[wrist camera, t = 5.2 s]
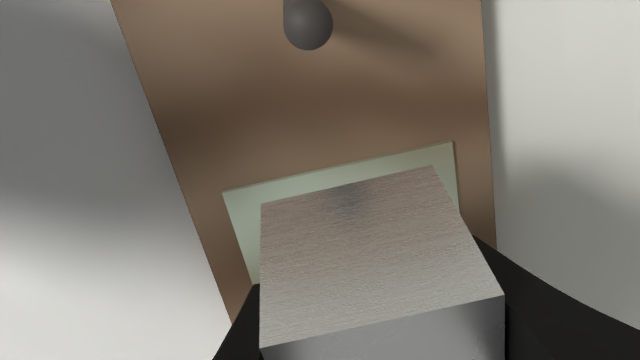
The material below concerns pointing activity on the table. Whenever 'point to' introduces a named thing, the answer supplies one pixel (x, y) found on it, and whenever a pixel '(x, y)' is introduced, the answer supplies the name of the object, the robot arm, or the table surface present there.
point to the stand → (309, 107)
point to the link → (376, 276)
